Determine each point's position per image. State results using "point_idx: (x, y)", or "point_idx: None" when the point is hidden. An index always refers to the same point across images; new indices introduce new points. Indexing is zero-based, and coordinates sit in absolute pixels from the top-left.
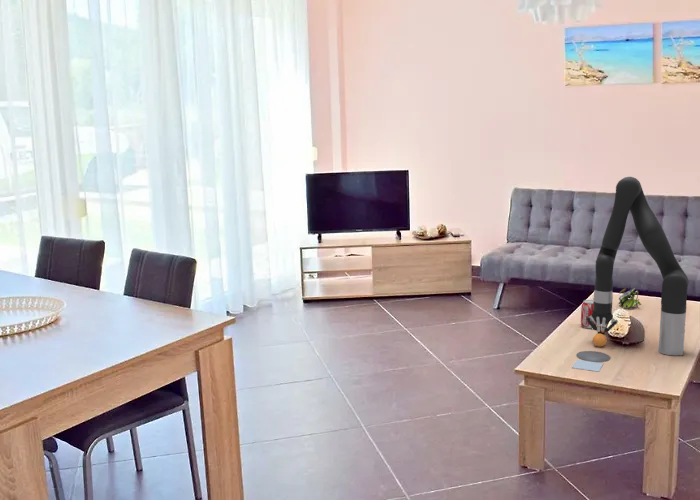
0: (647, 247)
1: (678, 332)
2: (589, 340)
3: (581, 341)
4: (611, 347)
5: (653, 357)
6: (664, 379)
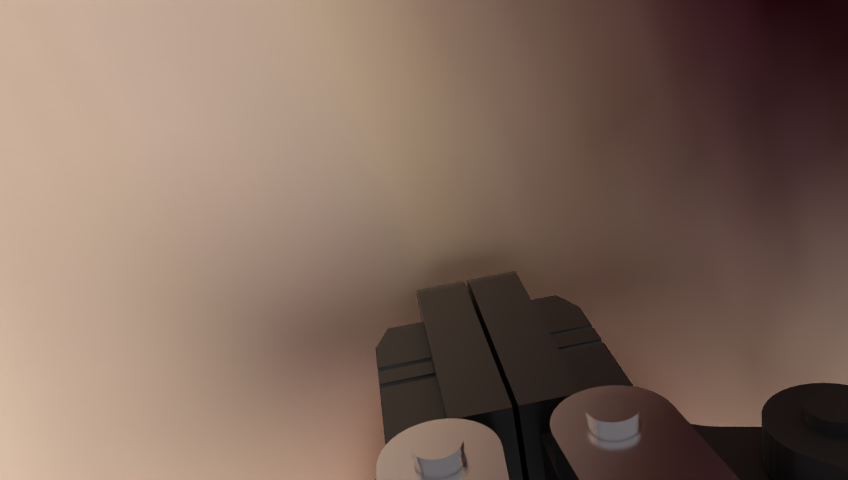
0: None
1: None
2: (109, 222)
3: (8, 418)
4: (743, 380)
5: None
6: None
